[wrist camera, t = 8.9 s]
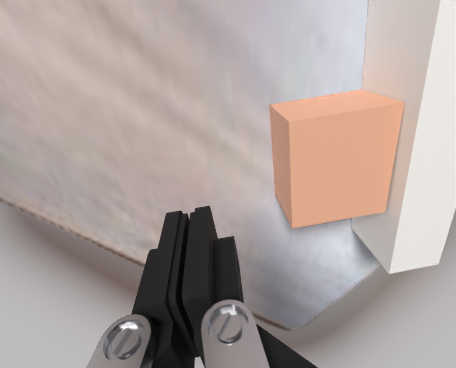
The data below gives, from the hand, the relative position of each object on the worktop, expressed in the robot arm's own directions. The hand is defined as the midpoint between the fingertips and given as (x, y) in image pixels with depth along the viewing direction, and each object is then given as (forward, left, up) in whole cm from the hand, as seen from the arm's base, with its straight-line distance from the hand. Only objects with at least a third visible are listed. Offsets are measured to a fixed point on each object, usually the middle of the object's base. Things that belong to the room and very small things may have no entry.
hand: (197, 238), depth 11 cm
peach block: (-9, +2, -12) cm, 15 cm away
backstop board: (-15, +1, -11) cm, 19 cm away
